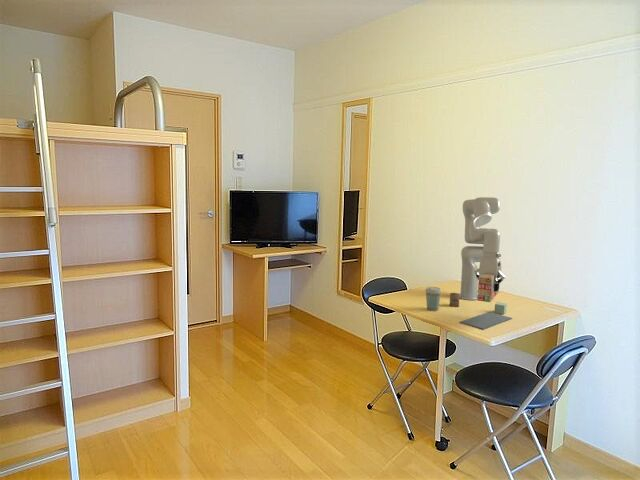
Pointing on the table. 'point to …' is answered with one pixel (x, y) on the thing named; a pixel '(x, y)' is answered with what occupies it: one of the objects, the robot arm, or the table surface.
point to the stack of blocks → (486, 288)
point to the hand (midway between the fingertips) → (488, 289)
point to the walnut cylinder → (454, 299)
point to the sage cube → (500, 308)
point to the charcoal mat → (485, 320)
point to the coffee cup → (433, 298)
